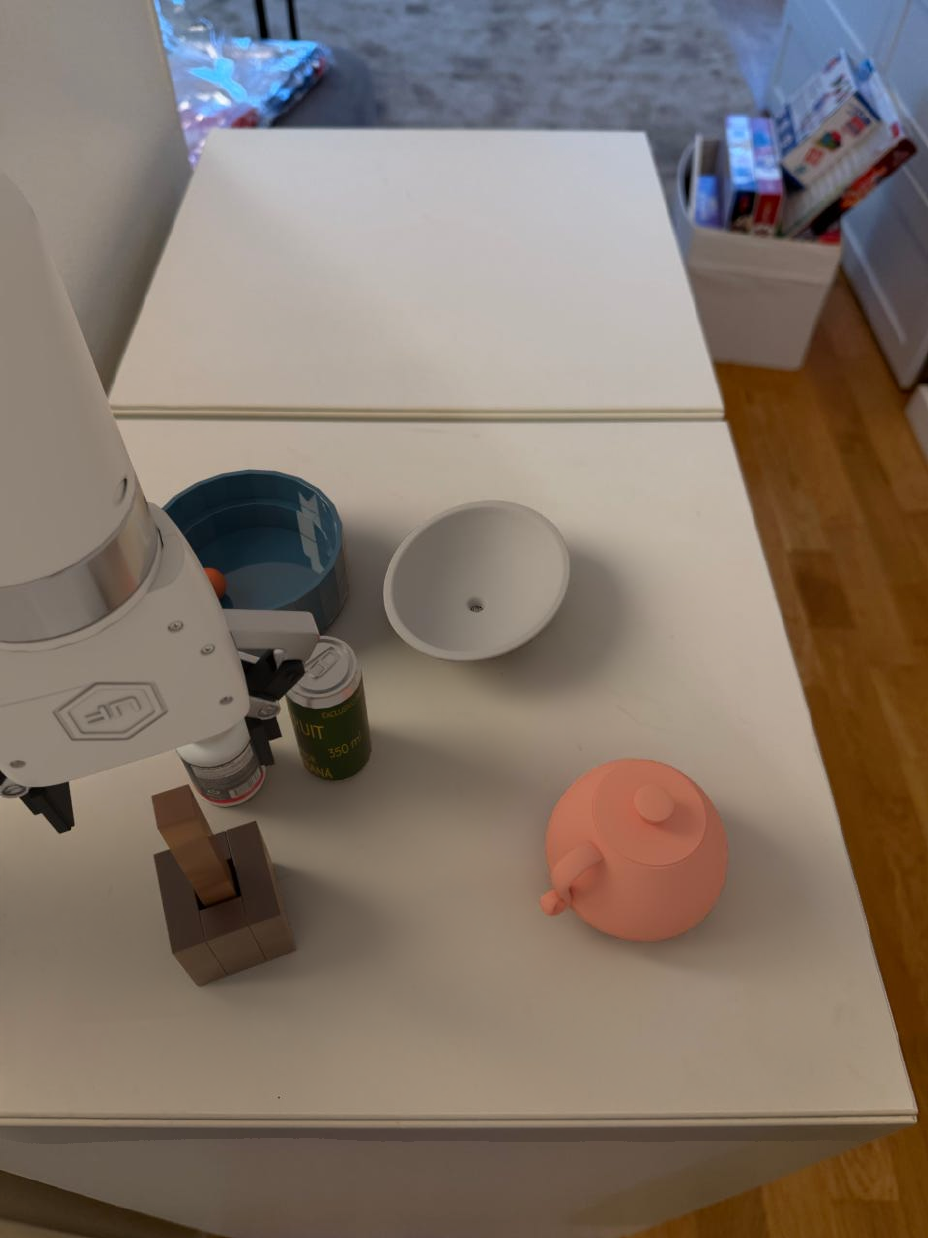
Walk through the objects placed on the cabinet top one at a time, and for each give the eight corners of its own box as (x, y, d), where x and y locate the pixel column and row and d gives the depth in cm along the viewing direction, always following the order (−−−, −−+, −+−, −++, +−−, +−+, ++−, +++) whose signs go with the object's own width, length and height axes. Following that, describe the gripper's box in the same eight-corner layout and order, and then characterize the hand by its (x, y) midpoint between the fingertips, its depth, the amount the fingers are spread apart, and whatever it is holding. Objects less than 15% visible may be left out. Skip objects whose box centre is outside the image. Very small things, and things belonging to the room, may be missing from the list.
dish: (501, 725, 72) (505, 691, 68) (348, 650, 76) (343, 613, 72) (596, 575, 81) (604, 537, 77) (455, 515, 86) (455, 476, 82)
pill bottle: (194, 749, 70) (162, 679, 63) (265, 739, 71) (242, 668, 63) (194, 814, 67) (160, 748, 59) (268, 803, 68) (244, 737, 60)
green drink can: (335, 711, 73) (318, 620, 63) (386, 749, 71) (377, 661, 61) (287, 758, 70) (261, 670, 61) (338, 799, 68) (320, 715, 59)
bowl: (181, 689, 74) (161, 642, 69) (148, 547, 83) (127, 496, 78) (372, 633, 77) (367, 584, 72) (320, 502, 86) (312, 450, 81)
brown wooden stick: (225, 941, 62) (157, 829, 47) (218, 913, 63) (150, 795, 49) (254, 930, 62) (196, 816, 48) (247, 903, 63) (188, 783, 49)
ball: (197, 614, 78) (189, 592, 75) (190, 588, 79) (182, 565, 77) (232, 604, 78) (226, 582, 76) (225, 579, 80) (218, 556, 77)
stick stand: (197, 987, 60) (171, 953, 54) (178, 894, 64) (152, 854, 58) (296, 950, 62) (281, 914, 56) (272, 862, 65) (255, 819, 60)
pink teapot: (752, 892, 64) (796, 831, 56) (592, 1003, 60) (614, 955, 52) (642, 759, 70) (667, 686, 62) (489, 851, 66) (494, 785, 58)
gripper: (-249, 703, 28) (-14, 905, 41) (313, 549, 31) (357, 781, 45) (-232, 529, 32) (-25, 765, 45) (261, 411, 36) (316, 662, 49)
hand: (165, 773), depth 45 cm, fingers open, 9 cm apart
